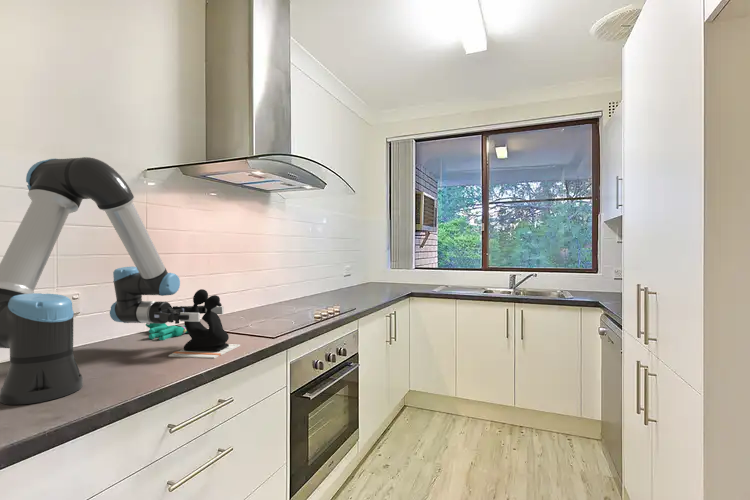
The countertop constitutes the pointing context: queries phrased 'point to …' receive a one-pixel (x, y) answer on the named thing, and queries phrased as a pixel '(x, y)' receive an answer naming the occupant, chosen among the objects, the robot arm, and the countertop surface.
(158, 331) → the toy
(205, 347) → the figurine
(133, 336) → the countertop surface
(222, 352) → the mat
